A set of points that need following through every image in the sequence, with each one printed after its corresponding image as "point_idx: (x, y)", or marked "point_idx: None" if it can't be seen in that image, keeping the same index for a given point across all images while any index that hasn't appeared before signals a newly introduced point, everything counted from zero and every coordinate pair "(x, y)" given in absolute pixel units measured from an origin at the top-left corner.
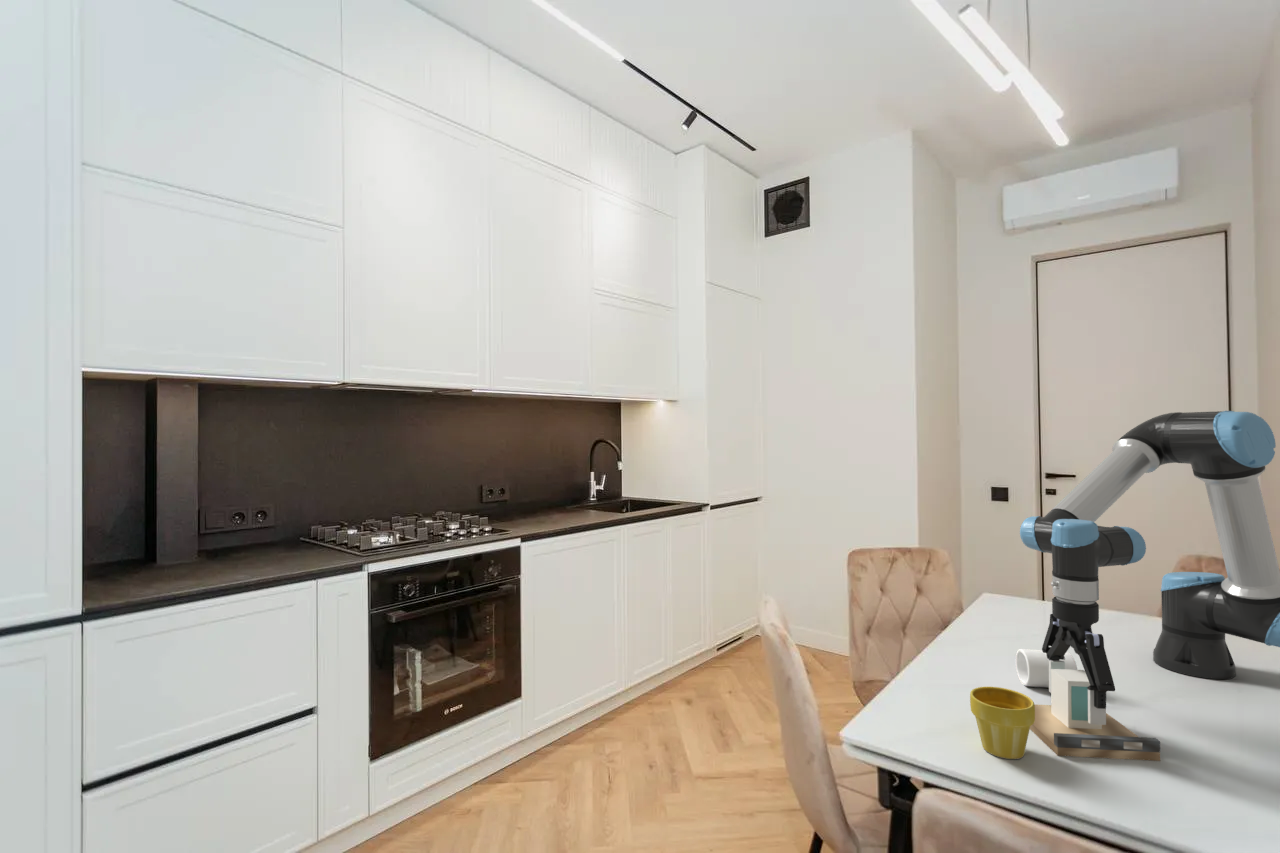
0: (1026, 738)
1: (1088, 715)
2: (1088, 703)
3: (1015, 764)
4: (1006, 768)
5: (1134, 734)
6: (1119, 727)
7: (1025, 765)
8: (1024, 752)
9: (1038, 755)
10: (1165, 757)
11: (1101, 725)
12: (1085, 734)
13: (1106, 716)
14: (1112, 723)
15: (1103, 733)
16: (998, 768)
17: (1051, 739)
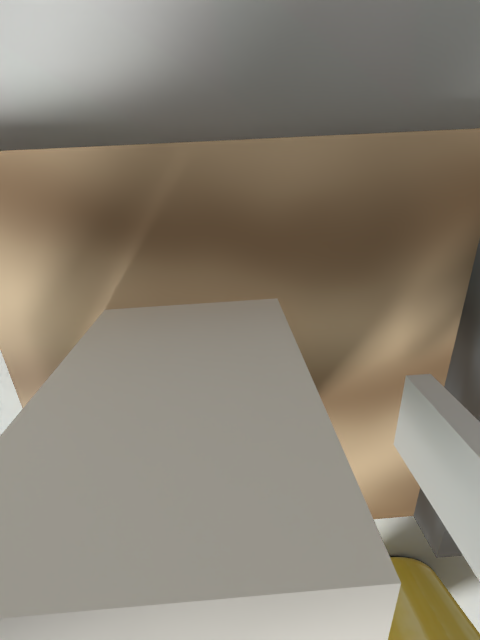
0: (476, 633)
1: (419, 476)
2: (470, 554)
3: (454, 580)
4: (469, 597)
5: (328, 142)
6: (242, 185)
7: (462, 564)
8: (427, 571)
9: (413, 528)
10: (476, 68)
11: (280, 307)
12: (339, 394)
13: (88, 181)
14: (191, 199)
15: (326, 314)
16: (467, 608)
17: (382, 513)
